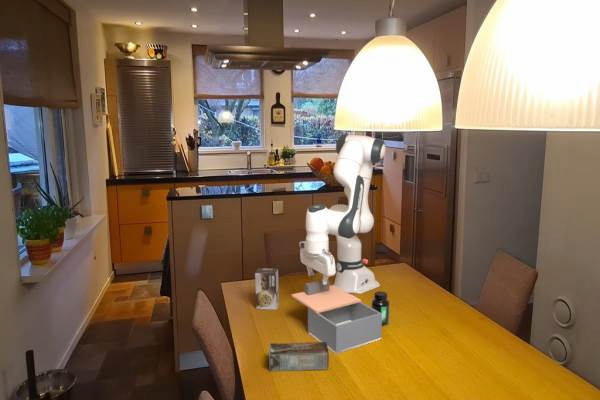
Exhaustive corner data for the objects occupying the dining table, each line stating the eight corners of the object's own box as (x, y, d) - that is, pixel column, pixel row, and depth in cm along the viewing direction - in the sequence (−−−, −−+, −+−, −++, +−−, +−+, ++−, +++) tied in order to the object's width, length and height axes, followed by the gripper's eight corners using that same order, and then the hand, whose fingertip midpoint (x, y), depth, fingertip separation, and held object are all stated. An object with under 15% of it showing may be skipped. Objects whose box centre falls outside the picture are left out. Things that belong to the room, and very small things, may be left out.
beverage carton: (269, 358, 148) (269, 340, 147) (327, 358, 149) (327, 339, 148) (268, 372, 140) (268, 352, 139) (329, 371, 141) (329, 352, 140)
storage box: (350, 320, 176) (351, 296, 174) (381, 339, 161) (382, 313, 159) (307, 332, 166) (307, 307, 164) (336, 354, 151) (336, 326, 149)
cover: (333, 286, 184) (333, 275, 184) (360, 301, 169) (361, 289, 168) (291, 296, 174) (291, 284, 173) (316, 313, 159) (316, 300, 158)
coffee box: (279, 304, 192) (279, 268, 189) (276, 310, 186) (276, 273, 183) (258, 303, 193) (257, 267, 190) (255, 309, 187) (254, 272, 184)
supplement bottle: (387, 327, 170) (388, 297, 168) (369, 324, 173) (370, 295, 170) (389, 320, 177) (391, 291, 175) (372, 317, 179) (373, 289, 177)
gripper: (339, 252, 166) (339, 286, 169) (310, 239, 184) (310, 271, 186) (325, 255, 163) (325, 290, 166) (297, 241, 180) (297, 274, 183)
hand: (317, 280), depth 176 cm, fingers open, 8 cm apart
